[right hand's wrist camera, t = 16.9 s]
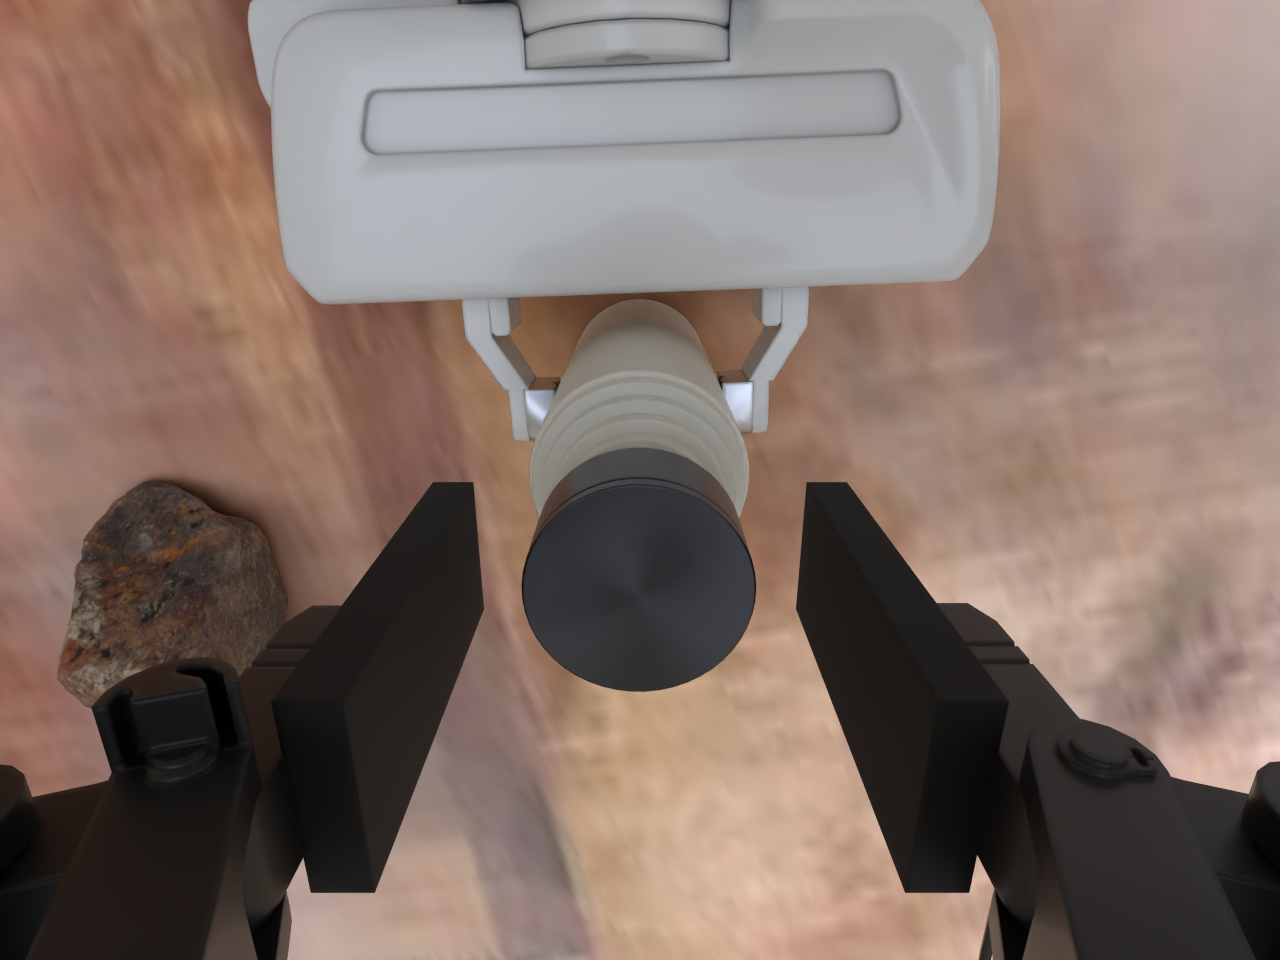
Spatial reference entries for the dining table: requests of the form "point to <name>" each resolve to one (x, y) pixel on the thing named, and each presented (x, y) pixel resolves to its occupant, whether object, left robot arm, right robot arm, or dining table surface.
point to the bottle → (639, 400)
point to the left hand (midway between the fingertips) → (641, 432)
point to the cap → (638, 571)
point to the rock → (167, 590)
